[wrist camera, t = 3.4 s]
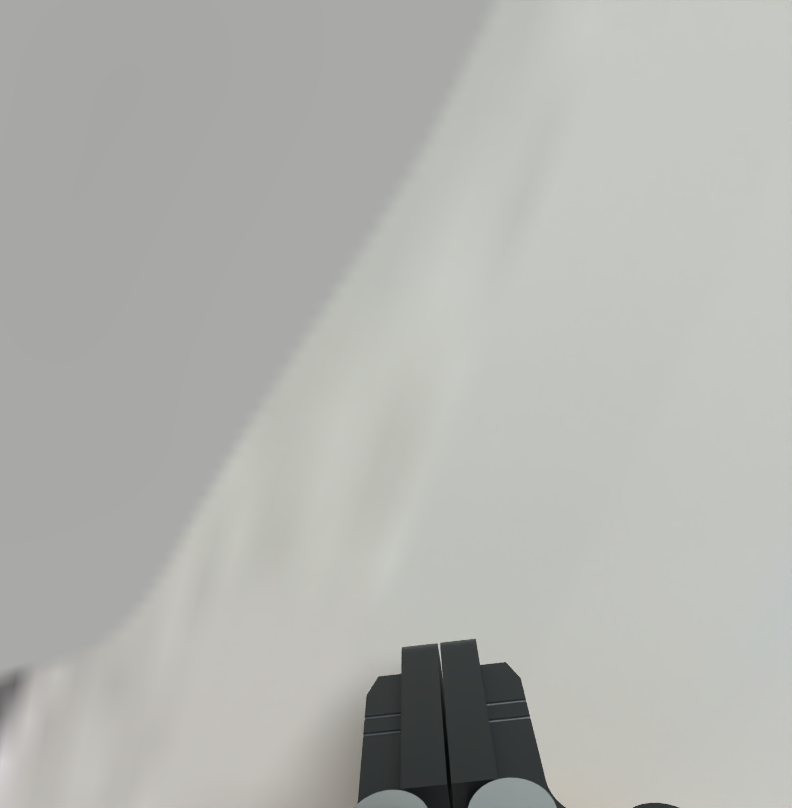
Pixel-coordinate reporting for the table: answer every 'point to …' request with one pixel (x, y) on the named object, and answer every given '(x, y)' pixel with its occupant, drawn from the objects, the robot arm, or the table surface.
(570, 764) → the table surface
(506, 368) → the table surface
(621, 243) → the table surface
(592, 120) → the table surface
